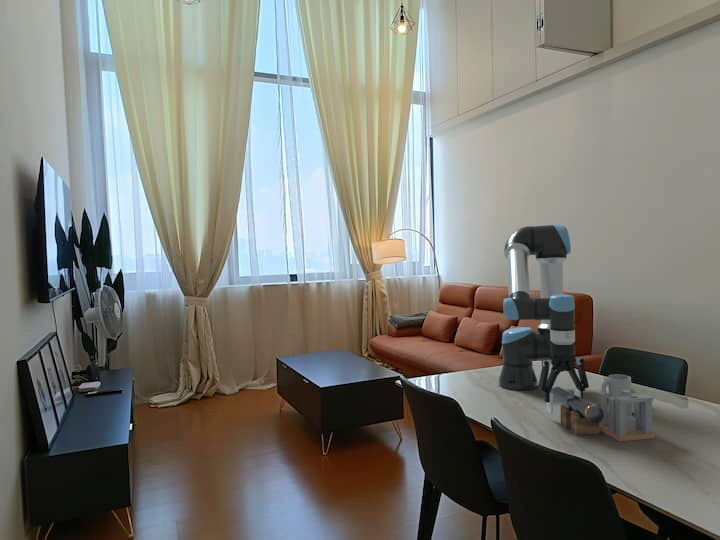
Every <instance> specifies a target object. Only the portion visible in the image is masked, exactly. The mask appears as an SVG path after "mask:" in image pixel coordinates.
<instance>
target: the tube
mask: <svg viewBox="0 0 720 540" xmlns="http://www.w3.org/2000/svg"><path fill="white" fill-rule="evenodd" d="M550 392H551V393H553V401H556V402H558V403H559V404H560V405H565V406H567V407H569V409H571V410H573V411H576V412H577V413H579V414H580V415H582V416H583V417H585V418H587V419H588V420H590V421H592V422H594V423H598V422H600V421H601V420H602V419H603V417H604V412H603V410H602V409H601V408H599V407H597V405H596V404H593V403H591V402H590V401H587V400H586V399H584V398H583V399H582V398H580V397H578V396H576V395H574V393H572V392H570V391H568V390H567V389H565V388H562V387H560V386H555V387H552V389H551V391H550Z"/></svg>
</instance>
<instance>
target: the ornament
mask: <svg viewBox="0 0 720 540" xmlns="http://www.w3.org/2000/svg"><path fill="white" fill-rule="evenodd" d="M624 386H628V385H624ZM636 389H637V388H636ZM636 389H635V388H632V387H631V388H630V391H631V392H632V396H635V395H639V394H638V393H637V392H636ZM619 390H624V389H622V388H621V389H619ZM632 414H634V403H632Z"/></svg>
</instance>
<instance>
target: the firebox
mask: <svg viewBox="0 0 720 540" xmlns="http://www.w3.org/2000/svg"><path fill="white" fill-rule="evenodd" d="M607 394H608V393H607ZM607 394H606V393H604V392H602V391H596V394H595V396H596V397H595V398H596V399H595V400H596V403H595V404H596V406H597V407H599V408H601V409H602V410H603V412H604V417H603V419H602V420H601V421H600V422H599V431H601V432H603V433H604V434H607V435H608V436H610V437H612V438H614V440H617V441H619V442H629V441H638V440H639V441H640V440H647V439H650V440H651V439H655V438H656V435H655V433H653V402H654V397H652V396H650V395H648V394H638V395H635V396H632V392H631V391H628V390H621V397H612V398H607ZM632 403H634V413H632Z"/></svg>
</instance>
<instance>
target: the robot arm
mask: <svg viewBox="0 0 720 540" xmlns="http://www.w3.org/2000/svg"><path fill="white" fill-rule="evenodd" d="M503 252H504V257H505V259H506V261H507V285H508V286H507V288H508V297H507V298H504V299H503V301H502V302H503V303H502V304H503V305H502V306H503V318H504V319H506V320H512V321H513V320H515V321H526V320H527V321H528V320H532V321H533V320H535V321H537V320H538V321H539V320H540V322H541V323H540V324H538V326H537V328H536V329H537V330H536V331H533V329H532V327H529V326H528V327H523V326H522V327H521V326H520V327H514V328H508V329H506V330H504V331H503V332H502V336H501V337H502V339H501V344H502V368H501V370H500V374H499V377H498V385H499V387H501V388H504V389H507V390H508V389H509V390H514V391H529V390H535V389H538V390H540V391H541V392H543V401H544V402H546V411H547V412H548V413H550V414H554V399H553V393H551V391H552V389H553V388H554V387H553V386H554V384H555V382H556V381H557V378H558V376H559V375H560V373H562V372H568V374H569V376H570V379H571V381H572V382H573V384H574V386H575V388H574V389H573V394H574V395H576V396H578V397H580V398H582V399H584V392H585V391H586V389H589V387H590V385H589V381H588V377H587V373H586V369H585V362H586V361H585V358H582V357H576V344H575V342H576V330H575V328H576V327H575V326H576V325H575V323H576V322H575V321H576V320H575V319H576V318H575V316H576V315H575V313H576V311H575V310H576V309H575V308H576V304H575V297H574V295H572V294H570V295H569V294H565V293H564V265H563V264H564V262H565V261H566V260H567V259H568V258H567V256H568V255H569V254H571V252H572V248H571V240H570V235H569V231H568V229H567V227H566V226H565V225H563V224H561V225H560V224H559V225H558V224H552V225H551V224H549V225H536V226H535V225H533V226H530V225H527V226H522V227H520V228H518V229H517V230H515V231H514V232H513V233H512V234H511V235H510V236H509V237H508V238H507V240H506V242H505V245H504V251H503ZM529 256H535V260H536V261H537V262H538V263H539V278H540V281H539V283H540V297H535V298H534V297H531V287H530V274H529V261H528V260H529ZM533 361H541V369H540V371H541V372H540V375H539V376H540V377H539V381H538V379H537V376H536V372H535V370H534V364H533ZM551 365H552V367H551ZM574 365H576V369H577V372H578V374H577V372H576V369H575V367H574ZM550 367H551V368H550Z"/></svg>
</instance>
